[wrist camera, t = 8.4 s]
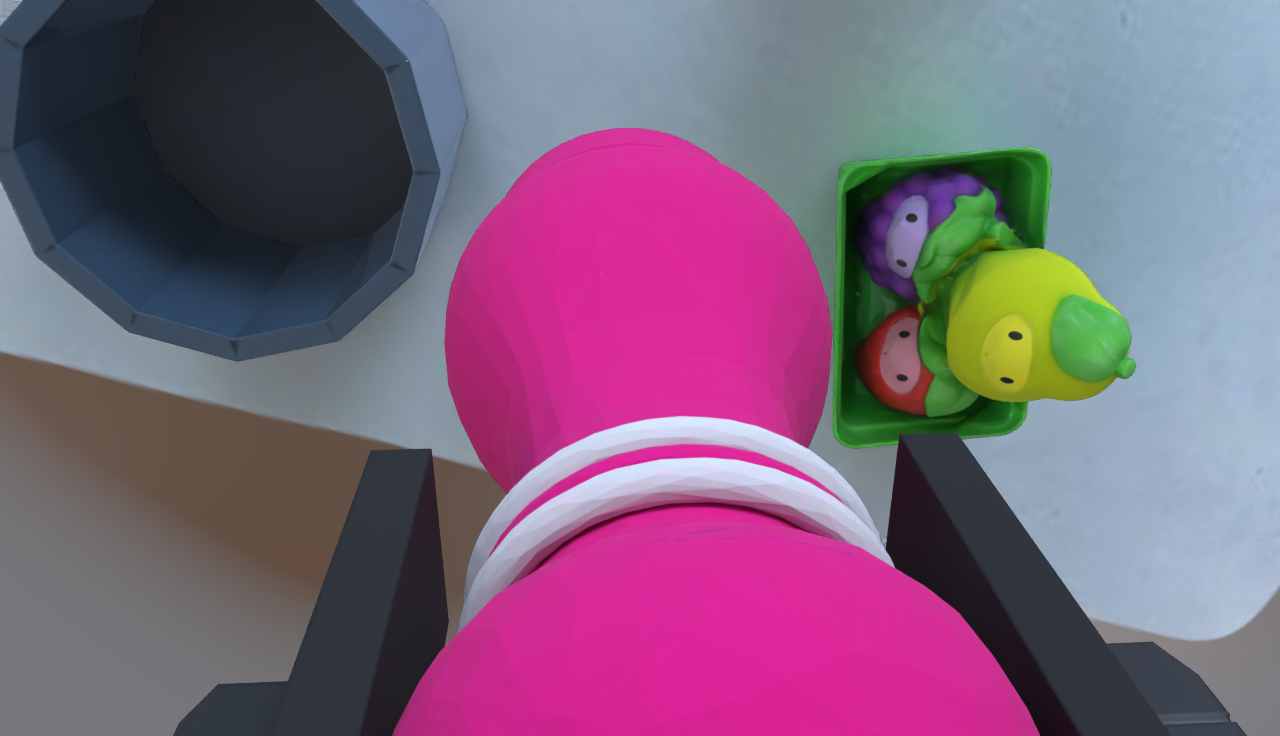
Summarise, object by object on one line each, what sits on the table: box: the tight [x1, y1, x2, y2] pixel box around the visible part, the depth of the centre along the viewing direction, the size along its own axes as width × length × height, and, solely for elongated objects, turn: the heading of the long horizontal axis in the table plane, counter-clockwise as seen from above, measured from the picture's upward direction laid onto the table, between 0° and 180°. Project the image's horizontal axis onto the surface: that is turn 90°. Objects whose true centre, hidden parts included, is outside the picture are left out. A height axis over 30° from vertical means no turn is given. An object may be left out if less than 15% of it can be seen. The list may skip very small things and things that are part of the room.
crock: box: [0, 0, 468, 361], centre depth 34 cm, size 13×13×9 cm
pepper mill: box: [392, 128, 1040, 736], centre depth 14 cm, size 7×7×20 cm
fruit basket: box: [833, 147, 1136, 449], centre depth 37 cm, size 11×9×11 cm
